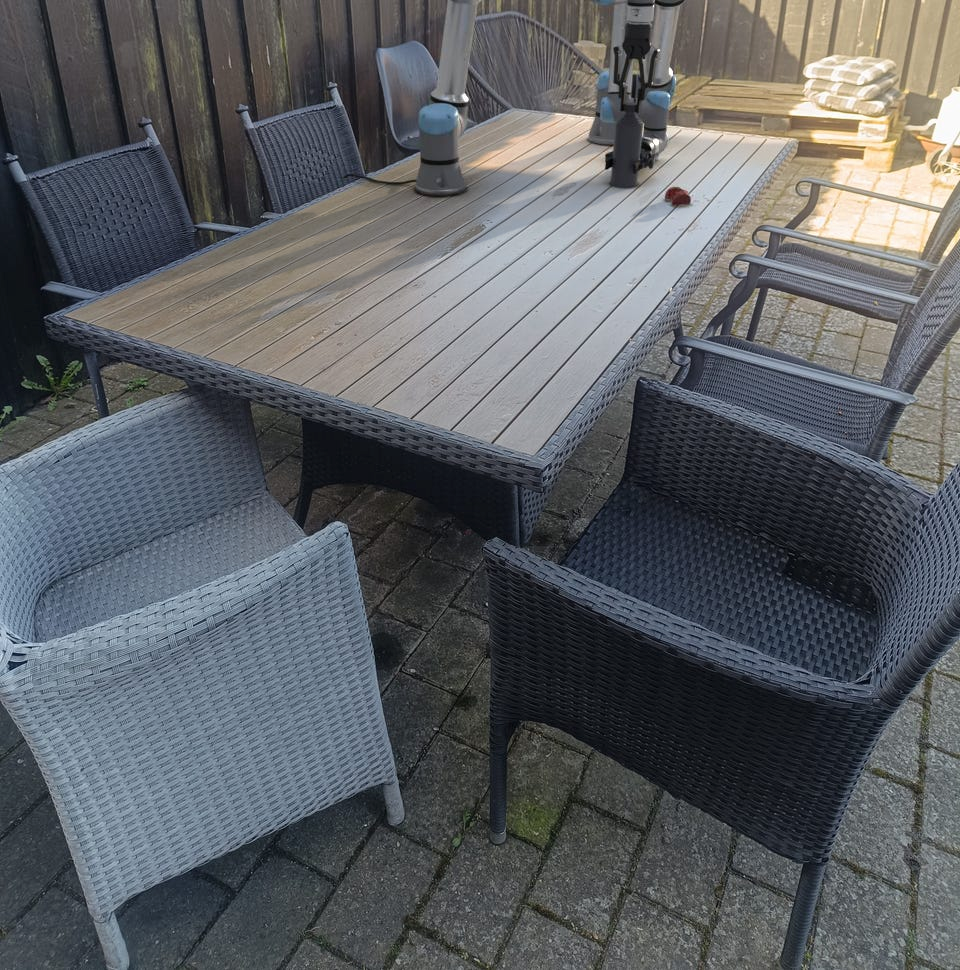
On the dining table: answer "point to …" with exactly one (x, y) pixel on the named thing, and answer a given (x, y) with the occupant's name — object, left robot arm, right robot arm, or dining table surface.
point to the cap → (630, 107)
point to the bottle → (626, 150)
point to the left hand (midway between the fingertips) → (630, 111)
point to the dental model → (677, 196)
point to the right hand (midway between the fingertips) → (620, 167)
